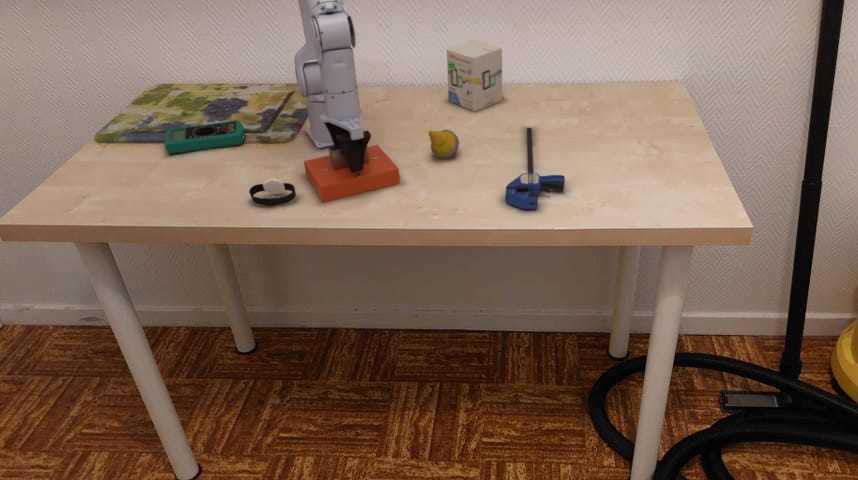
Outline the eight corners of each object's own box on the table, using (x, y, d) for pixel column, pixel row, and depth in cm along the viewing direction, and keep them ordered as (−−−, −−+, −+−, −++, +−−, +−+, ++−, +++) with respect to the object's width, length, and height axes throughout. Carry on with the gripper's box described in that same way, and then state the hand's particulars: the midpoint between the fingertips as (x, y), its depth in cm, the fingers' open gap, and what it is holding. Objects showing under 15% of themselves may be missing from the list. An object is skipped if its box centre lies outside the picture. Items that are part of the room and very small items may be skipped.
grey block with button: (333, 170, 129) (330, 150, 127) (331, 166, 130) (328, 146, 128) (369, 162, 131) (366, 142, 129) (366, 158, 132) (364, 138, 130)
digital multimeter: (245, 145, 146) (242, 131, 144) (167, 156, 143) (163, 142, 141) (245, 130, 152) (242, 117, 150) (169, 140, 149) (165, 127, 147)
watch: (298, 193, 129) (295, 174, 127) (294, 206, 125) (290, 187, 123) (254, 194, 129) (250, 176, 127) (248, 208, 125) (244, 189, 123)
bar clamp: (567, 197, 119) (505, 197, 120) (567, 210, 121) (505, 210, 121) (558, 122, 146) (508, 122, 147) (558, 133, 148) (508, 134, 148)
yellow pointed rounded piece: (467, 157, 139) (444, 138, 130) (442, 167, 141) (418, 149, 132) (461, 132, 141) (438, 112, 132) (437, 143, 142) (412, 123, 134)
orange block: (323, 202, 126) (320, 185, 124) (306, 175, 134) (303, 160, 132) (400, 183, 130) (398, 167, 129) (379, 159, 139) (377, 143, 137)
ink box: (447, 101, 161) (445, 48, 154) (476, 90, 165) (474, 38, 159) (474, 112, 155) (473, 57, 149) (503, 100, 160) (503, 47, 153)
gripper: (305, 78, 127) (316, 150, 134) (329, 107, 116) (340, 184, 124) (344, 71, 129) (353, 142, 137) (371, 98, 118) (380, 174, 126)
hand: (350, 161), depth 130 cm, fingers open, 7 cm apart
